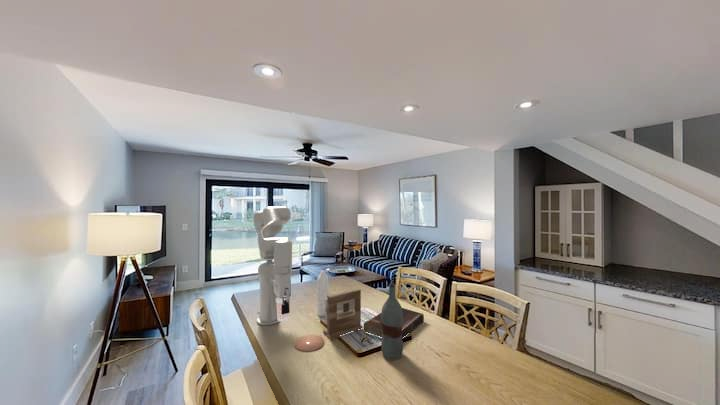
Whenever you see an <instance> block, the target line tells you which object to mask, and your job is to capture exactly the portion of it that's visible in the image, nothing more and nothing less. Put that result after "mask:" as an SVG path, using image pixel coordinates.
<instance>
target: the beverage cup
mask: <svg viewBox="0 0 720 405" xmlns="http://www.w3.org/2000/svg"><path fill="white" fill-rule="evenodd" d="M283 297H286V295H285V296H283ZM285 300H286V298H284V301H285ZM290 301H291V300H290ZM290 301H289V302H290ZM276 303H277V319H278V321H279V322H281V323H282V322H283V323H284V322H286V321H288V320H289V318H290V317H289V314H290V312H289V313H287V314H282V298H281V299H280V298H276Z"/></svg>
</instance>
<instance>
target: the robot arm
mask: <svg viewBox="0 0 720 405" xmlns="http://www.w3.org/2000/svg"><path fill="white" fill-rule="evenodd" d="M291 217H292V214H291V210H290V209H289V207H288V206H285V205H283V206H275V205H274V206H267V207H265V208H263V209H262V210H259V211H256V212H255V213H254V214H253V217H252V219H253V226H254V228H255V231H256V233H257V243H258V244H257V245H258V250H259V256H260V259H261V260H264V261H266V262H263V263H261V264H260V265H259V266H258V268H257V275H258V280H259V311H257V314H259V317H258V318H257V319H256V322H257V324H258V325H259V326H271V325H272V326H273V325H275V324H278V323H279V322H280V321H278V319H277V303H276V298H280V299H281V298H282V314H287V313H289V314H290V302H289V301H291V295H292V281H291V280H292V278H291V276H292V273H293V241H292V240H291V239H290V237H287V236H283V237H282V236H280V237H275V236H276V235H278V234H279V233H280V232H282V230H283V227H284V225H286V224H287V223H289V221H290V220H291ZM271 260H272V261H271ZM283 296H286V297H283ZM284 298H286V300H285V301H284Z"/></svg>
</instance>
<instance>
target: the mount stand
mask: <svg viewBox="0 0 720 405" xmlns="http://www.w3.org/2000/svg"><path fill="white" fill-rule="evenodd" d="M361 297H362V294H361V289H358V288H357V289H354V290H353V289H352V290H349V291H344V292H340V293H336V294H335V293H334V294H332V295H330V294H329V296H327V298H326V299H325V316H324V318H325V320H327V322H326V325H327V326H326V327H327V328H325V329H323V330H322V334H324V335H325V336H326V337H327V338H328V339H329V340H333V339H337V338H340V337H339V336H340V335H343V334H346V333H348V332H351V331H355V330H358V329H361V328H362V329H363V325H362V322H361V321H362V319H361V316H362V314H361V313H362V310H361V307H362V302H361V301H362V300H361V299H362V298H361Z"/></svg>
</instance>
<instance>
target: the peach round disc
mask: <svg viewBox="0 0 720 405" xmlns="http://www.w3.org/2000/svg"><path fill="white" fill-rule="evenodd" d="M324 343H325V338H323V337H322V335H321V336H320V335H318V334H306V335H302V336H300V337H298V338H296V340H295V342H294V346H295V349H297V350H298V351H301V352H314V351H317V350H319V349H320V348H321V347H323V346H324Z"/></svg>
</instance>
